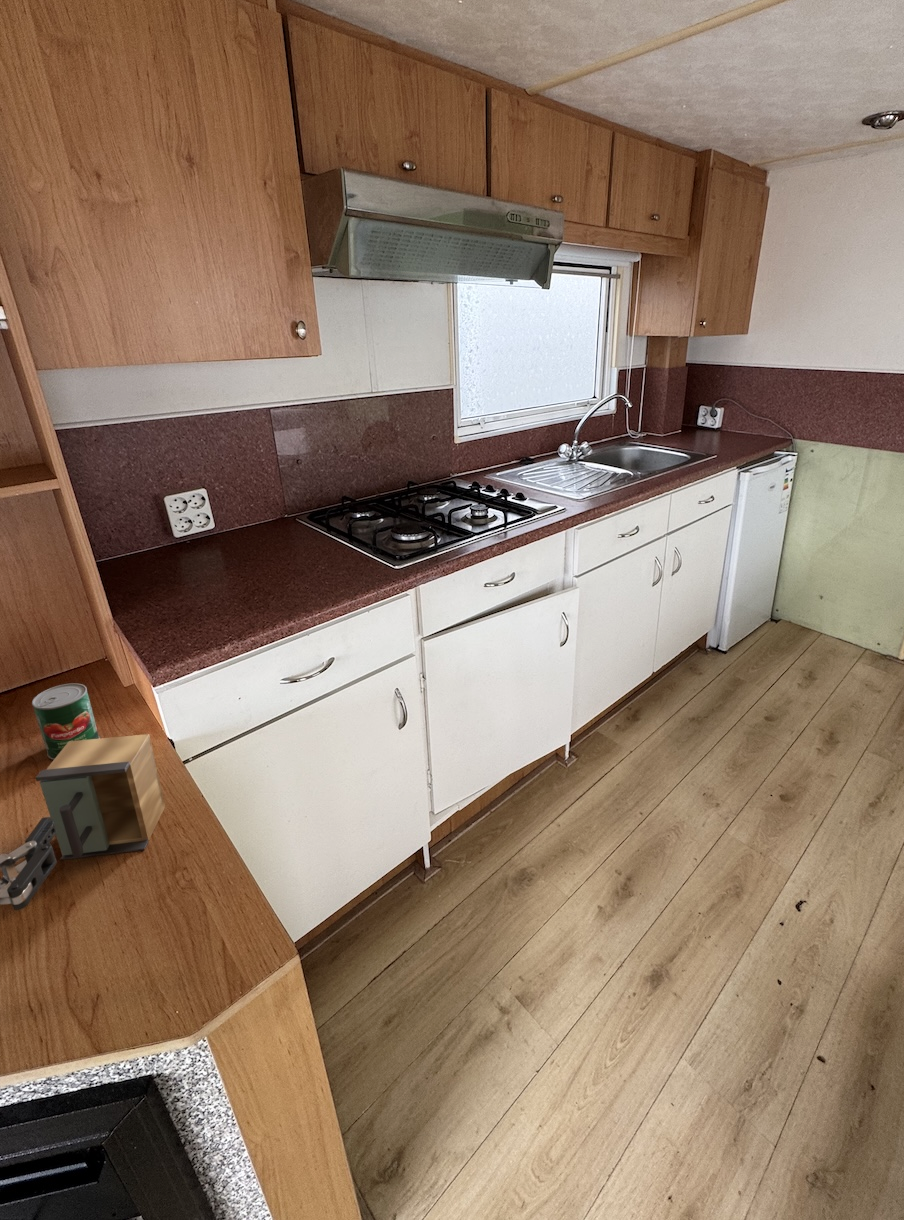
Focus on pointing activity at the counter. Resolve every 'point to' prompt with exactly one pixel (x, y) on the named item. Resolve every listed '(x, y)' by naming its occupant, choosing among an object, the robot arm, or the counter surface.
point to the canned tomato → (64, 716)
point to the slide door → (74, 815)
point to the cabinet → (116, 787)
